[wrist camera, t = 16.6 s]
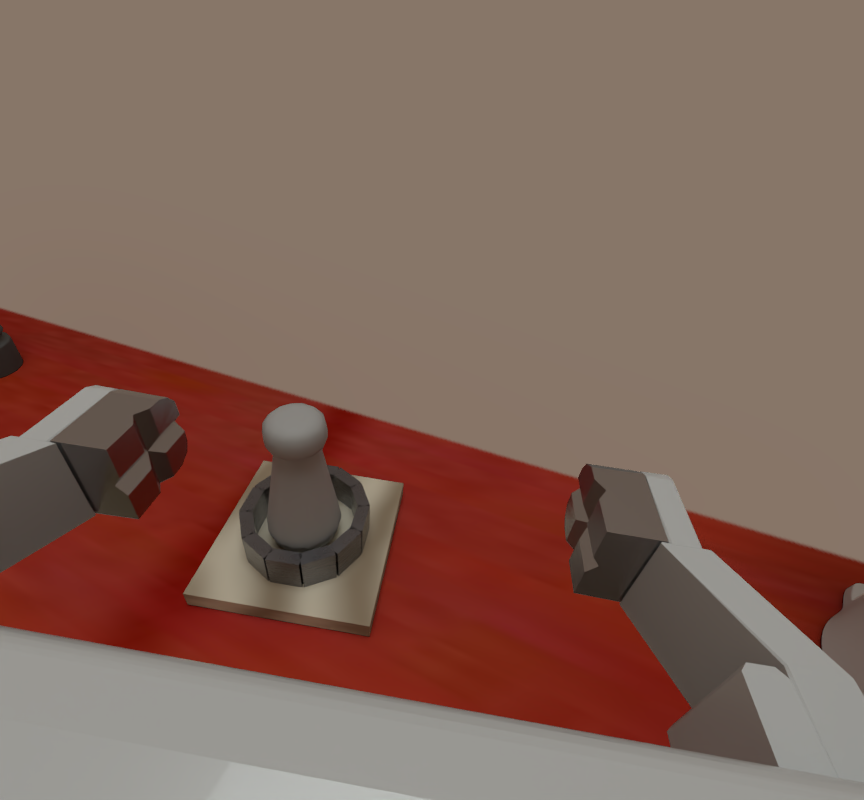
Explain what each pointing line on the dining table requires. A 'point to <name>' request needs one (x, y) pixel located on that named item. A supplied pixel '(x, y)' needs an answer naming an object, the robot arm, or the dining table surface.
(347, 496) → the metal collar
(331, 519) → the salt shaker
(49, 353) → the dining table surface
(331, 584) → the birch stand
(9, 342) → the candle holder
